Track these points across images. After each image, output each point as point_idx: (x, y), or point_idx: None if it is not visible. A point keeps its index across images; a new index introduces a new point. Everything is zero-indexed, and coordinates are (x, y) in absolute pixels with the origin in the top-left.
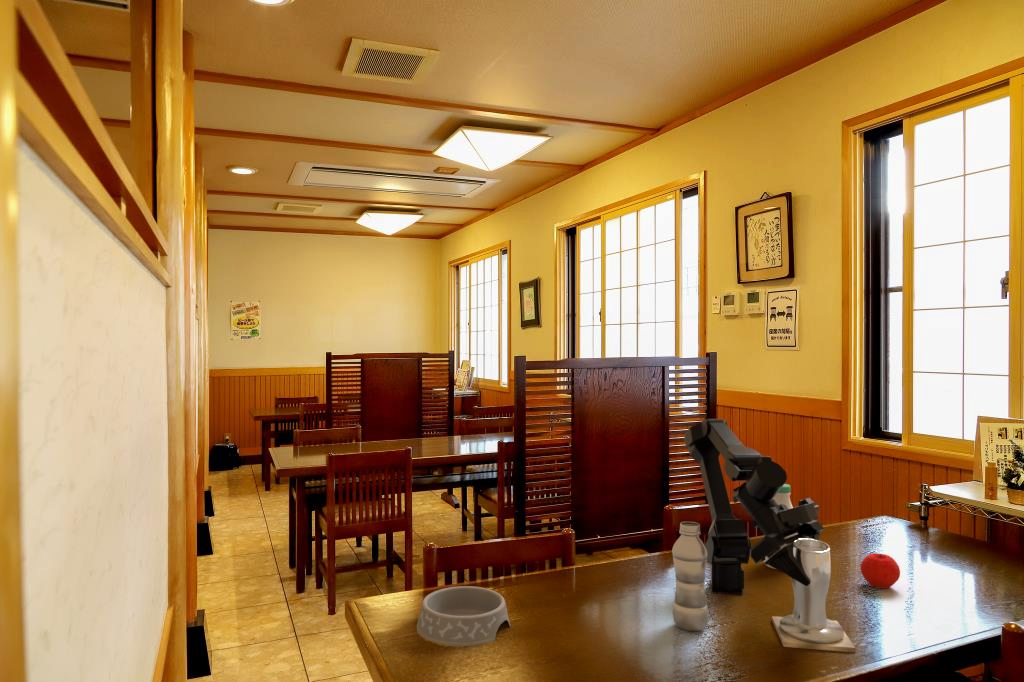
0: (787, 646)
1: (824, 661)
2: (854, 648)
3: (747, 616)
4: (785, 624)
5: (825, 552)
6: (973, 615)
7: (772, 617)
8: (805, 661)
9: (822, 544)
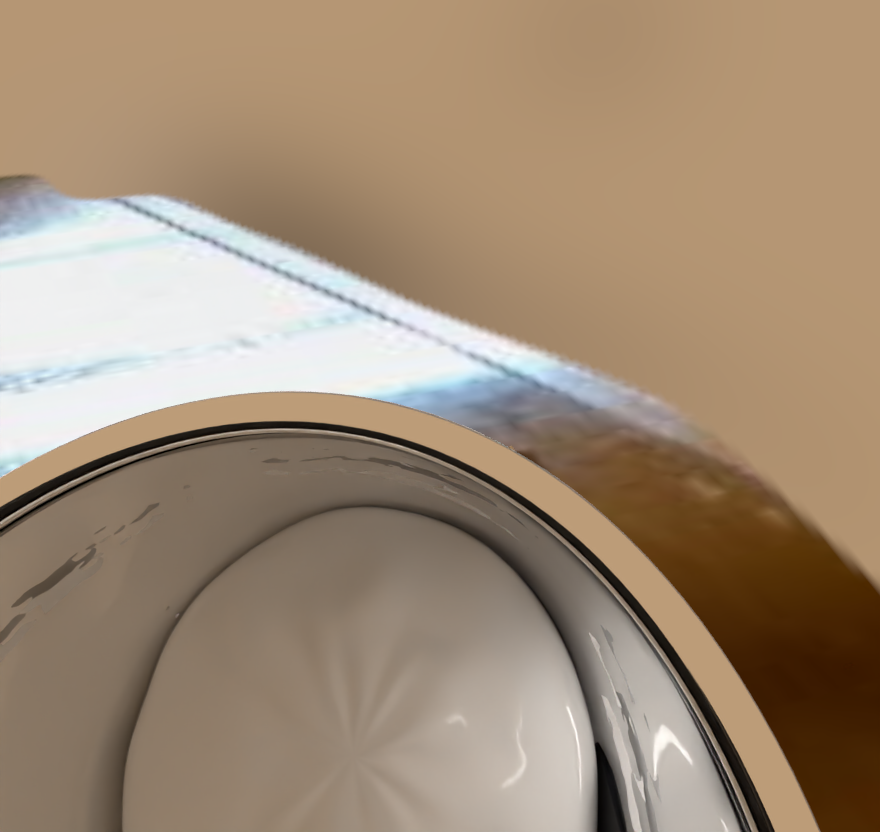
0: None
1: (680, 531)
2: (513, 449)
3: None
4: None
5: (492, 446)
6: (27, 241)
7: None
8: (746, 600)
9: None
